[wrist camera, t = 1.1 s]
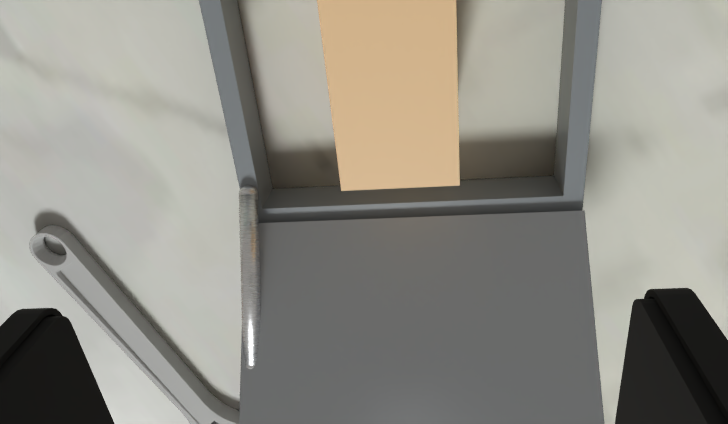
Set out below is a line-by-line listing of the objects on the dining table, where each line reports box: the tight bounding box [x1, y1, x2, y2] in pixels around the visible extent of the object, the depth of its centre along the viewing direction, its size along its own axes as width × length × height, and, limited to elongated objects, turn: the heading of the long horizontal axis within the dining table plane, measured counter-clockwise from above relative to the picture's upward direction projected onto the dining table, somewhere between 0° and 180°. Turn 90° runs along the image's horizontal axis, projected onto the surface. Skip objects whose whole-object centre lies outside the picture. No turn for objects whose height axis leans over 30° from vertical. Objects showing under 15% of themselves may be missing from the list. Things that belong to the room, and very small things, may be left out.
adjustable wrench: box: [29, 225, 240, 424], centre depth 41 cm, size 25×6×2 cm, turn 25°
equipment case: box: [199, 0, 604, 424], centre depth 27 cm, size 18×27×11 cm, turn 6°
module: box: [317, 0, 460, 191], centre depth 26 cm, size 5×8×8 cm, turn 6°
